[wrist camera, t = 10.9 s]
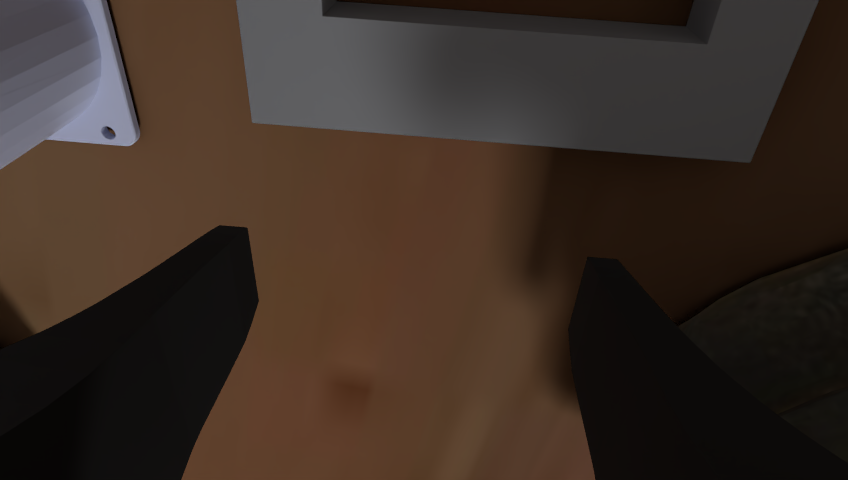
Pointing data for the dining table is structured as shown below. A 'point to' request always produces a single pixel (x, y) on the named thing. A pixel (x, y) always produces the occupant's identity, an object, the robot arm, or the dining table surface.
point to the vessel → (787, 345)
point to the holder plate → (525, 74)
